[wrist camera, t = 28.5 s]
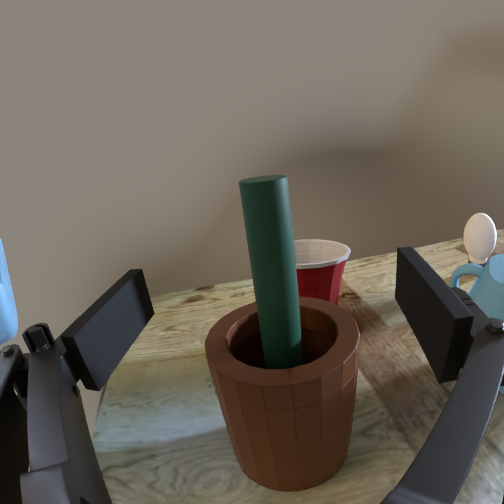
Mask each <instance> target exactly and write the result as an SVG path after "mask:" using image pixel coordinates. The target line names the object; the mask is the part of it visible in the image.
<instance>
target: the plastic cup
mask: <svg viewBox="0 0 504 504" xmlns="http://www.w3.org/2000/svg"><path fill="white" fill-rule="evenodd" d="M294 250H295V261H296V272H297V284H298V296H299V297H310V298H316V299H320V300H324V301H328V302H331V303H334V304H336V305H337V303H338V297H339V291H340V285H341V279H342V274H343V271H344V266H345V263H346V260H347V258H348V256H349V254H350V252H351V250H350V249H349V247H348V246H347V245H344V244H342V243H339V242H334V241H327V240H294Z"/></svg>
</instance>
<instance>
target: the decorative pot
mask: <svg viewBox="0 0 504 504" xmlns="http://www.w3.org/2000/svg"><path fill="white" fill-rule="evenodd" d="M465 274H473V275H476V276H479V277H478V278H477V280H476V281H475V283H474V285H473V287H472V288H471V290H470V292H469V294H468V295H469V296H470V297H471V299H473V300H474V301H475V302H476V304H477V305H478V306H479V307H480V308H481V309H482V310H483V311H484V313H485V314H486V315H487V316H488V317H489V318H498V319H501V320H504V254H498V255H494V256H493V257H491V258H490V260H489V261H488V263H487V264H486V266H485V267H482V266H480V265H478V264H475V263H468V264H464V265H462V266H460V267H458V268H457V269H456V270H455V271H454V272H453V274H452V276H451V279H450V288H452V287H458V282H459V278H460V276H462V275H465ZM499 391H500V392H501V393H503V394H504V386H500V388H499Z"/></svg>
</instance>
